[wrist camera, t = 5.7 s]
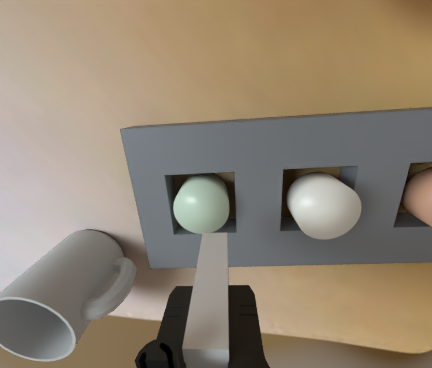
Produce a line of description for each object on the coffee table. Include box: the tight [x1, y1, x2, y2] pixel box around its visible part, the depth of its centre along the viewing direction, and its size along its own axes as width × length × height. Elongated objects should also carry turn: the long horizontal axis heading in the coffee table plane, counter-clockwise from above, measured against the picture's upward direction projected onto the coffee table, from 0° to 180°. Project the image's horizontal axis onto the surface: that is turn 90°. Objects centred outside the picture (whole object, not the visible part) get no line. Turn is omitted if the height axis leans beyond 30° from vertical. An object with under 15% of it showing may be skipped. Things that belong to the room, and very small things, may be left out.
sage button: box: [173, 173, 229, 234], centre depth 19 cm, size 5×5×3 cm
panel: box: [120, 107, 432, 269], centre depth 19 cm, size 32×14×2 cm, turn 94°
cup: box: [0, 230, 137, 361], centre depth 20 cm, size 7×10×9 cm
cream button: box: [286, 172, 361, 240], centre depth 18 cm, size 5×5×3 cm
